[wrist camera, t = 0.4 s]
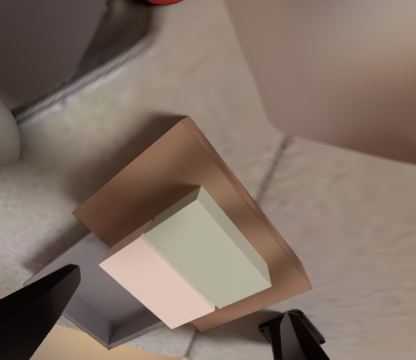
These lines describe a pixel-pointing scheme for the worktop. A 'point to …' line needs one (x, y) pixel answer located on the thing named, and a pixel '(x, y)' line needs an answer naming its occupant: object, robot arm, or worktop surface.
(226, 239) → the sage tile
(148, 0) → the canned food
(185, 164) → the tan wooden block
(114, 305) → the box
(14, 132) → the air freshener
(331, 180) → the worktop surface
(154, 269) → the cream tile
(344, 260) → the worktop surface
